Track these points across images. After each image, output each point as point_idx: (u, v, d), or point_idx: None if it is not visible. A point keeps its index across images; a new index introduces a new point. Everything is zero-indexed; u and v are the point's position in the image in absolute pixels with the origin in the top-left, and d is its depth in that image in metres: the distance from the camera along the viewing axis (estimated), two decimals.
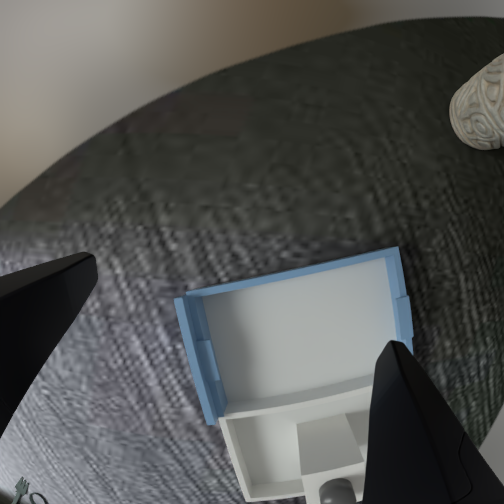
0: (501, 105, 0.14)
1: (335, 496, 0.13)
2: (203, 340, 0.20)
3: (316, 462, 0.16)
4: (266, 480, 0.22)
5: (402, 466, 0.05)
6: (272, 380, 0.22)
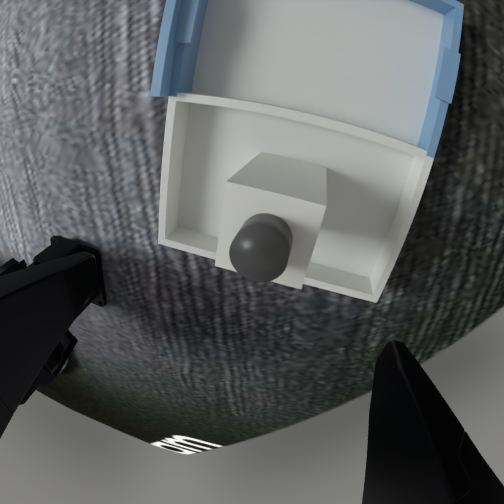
0: None
1: (258, 233, 0.11)
2: None
3: (258, 179, 0.13)
4: (195, 225, 0.21)
5: (402, 466, 0.05)
6: (255, 78, 0.16)
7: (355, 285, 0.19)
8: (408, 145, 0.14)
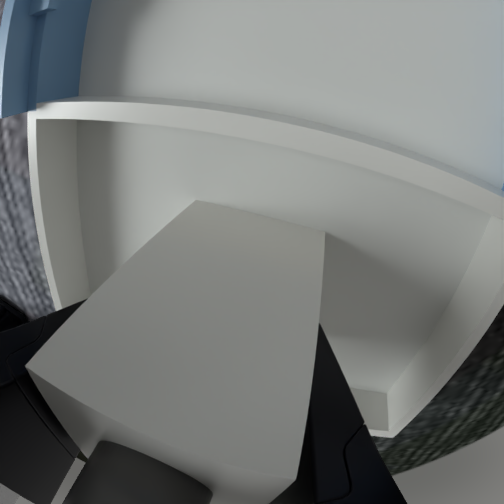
0: None
1: None
2: None
3: (116, 344, 0.04)
4: None
5: None
6: (178, 54, 0.07)
7: (362, 416, 0.10)
8: None
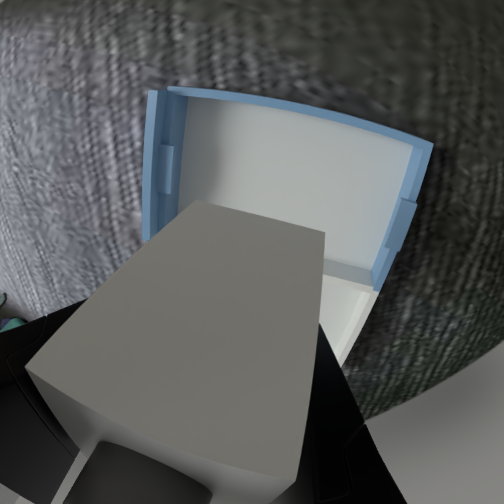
0: None
1: None
2: (167, 144, 0.17)
3: (116, 345, 0.04)
4: None
5: None
6: None
7: None
8: (356, 284, 0.19)
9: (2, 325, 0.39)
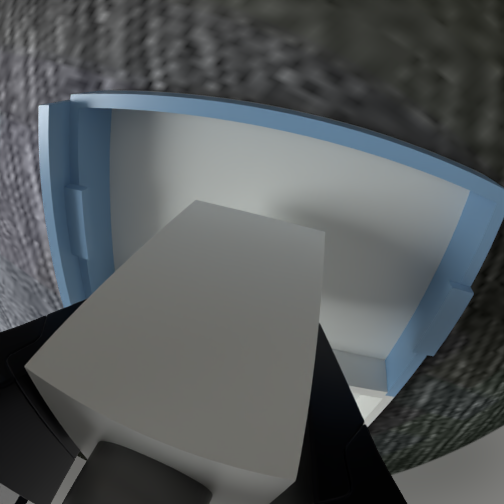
0: None
1: None
2: (76, 187, 0.10)
3: (115, 345, 0.04)
4: None
5: None
6: None
7: None
8: (364, 389, 0.12)
9: None
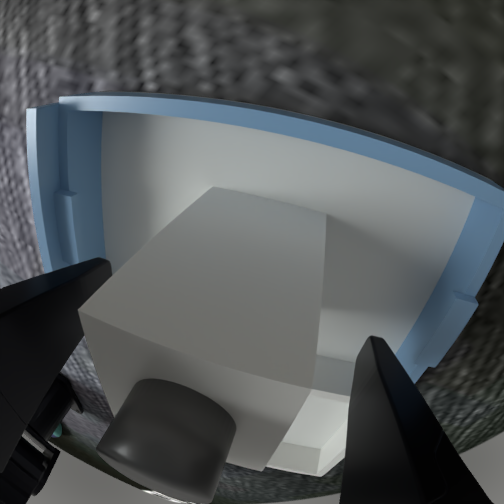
0: None
1: (134, 461, 0.04)
2: (65, 193, 0.10)
3: (159, 291, 0.05)
4: None
5: (376, 464, 0.05)
6: None
7: (301, 463, 0.17)
8: None
9: None
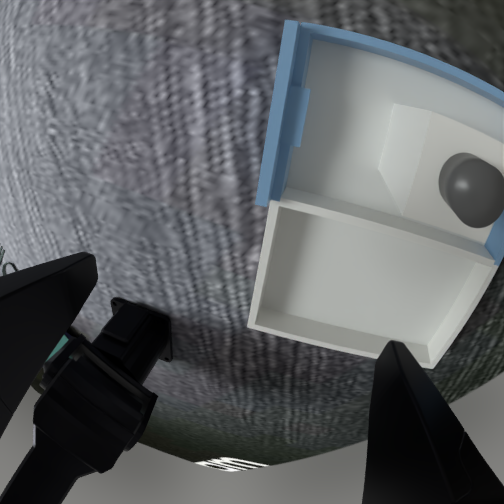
0: None
1: (487, 168, 0.07)
2: (300, 87, 0.13)
3: None
4: (280, 307, 0.23)
5: (402, 466, 0.05)
6: (354, 181, 0.17)
7: (417, 356, 0.20)
8: (482, 257, 0.15)
9: None
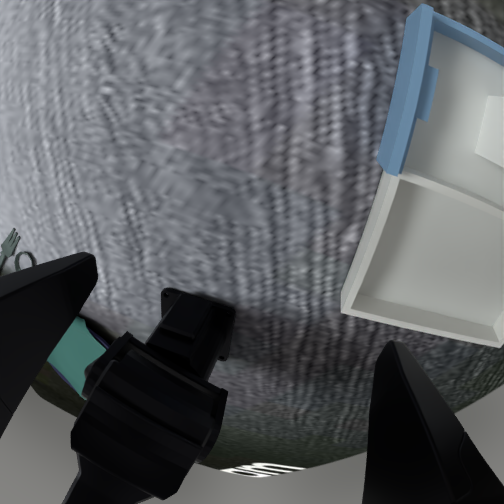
0: None
1: None
2: (429, 66, 0.11)
3: None
4: (369, 291, 0.21)
5: (402, 466, 0.05)
6: (455, 162, 0.15)
7: (488, 336, 0.18)
8: None
9: None
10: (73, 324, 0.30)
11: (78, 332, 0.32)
